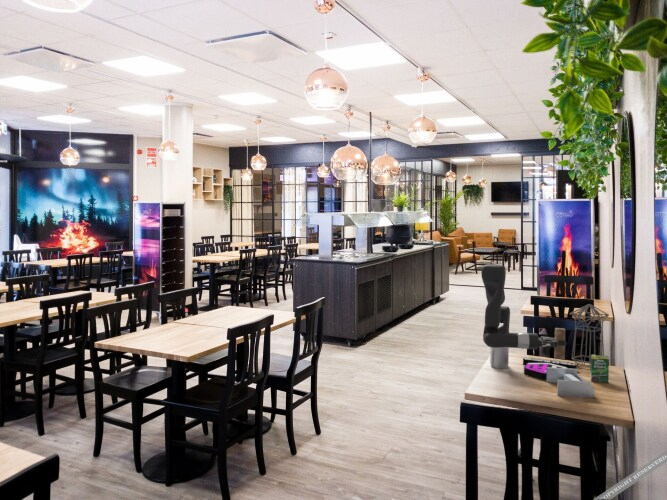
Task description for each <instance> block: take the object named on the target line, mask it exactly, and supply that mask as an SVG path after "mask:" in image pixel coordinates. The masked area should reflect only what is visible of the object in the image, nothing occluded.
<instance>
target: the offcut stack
mask: <svg viewBox="0 0 667 500" xmlns="http://www.w3.org/2000/svg"><path fill="white" fill-rule="evenodd" d="M564 380H573V381H580V380H579V379H577V378H576V377H574V376H573V375H571V374H564Z"/></svg>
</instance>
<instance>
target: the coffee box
mask: <svg viewBox="0 0 667 500" xmlns="http://www.w3.org/2000/svg"><path fill="white" fill-rule="evenodd" d="M590 357H591V358H590V362H591V364H590V365H591V370H590V382H595V383H604V384H606V383H607V384H608V383H609V379H610V376H609V374H610V373H609V371H610V370H609V367H610V366H609V365H610V363H609V359H610V358H609V355H604V356H603V355H602V356H601V354H599V355H598V354H597V355H596V354H595V355H594V354H591V355H590Z"/></svg>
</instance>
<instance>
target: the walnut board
mask: <svg viewBox="0 0 667 500" xmlns="http://www.w3.org/2000/svg"><path fill="white" fill-rule="evenodd" d="M554 338H555V340H557V341H566V329H565V328H564V327H555V328H554ZM554 344H555V343H554ZM553 350H554V351H553V353H554V354H553V357H554V359H556V360H565V355H566V346H557V347H553Z"/></svg>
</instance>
